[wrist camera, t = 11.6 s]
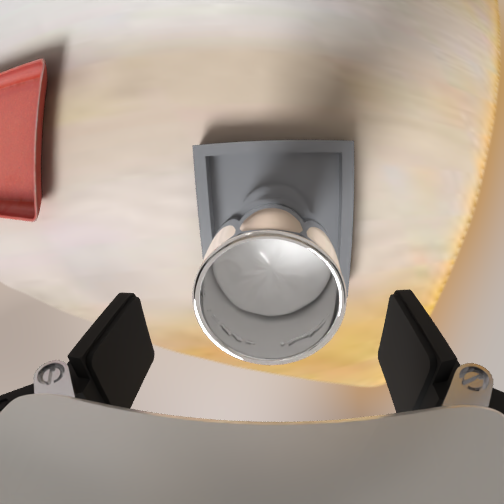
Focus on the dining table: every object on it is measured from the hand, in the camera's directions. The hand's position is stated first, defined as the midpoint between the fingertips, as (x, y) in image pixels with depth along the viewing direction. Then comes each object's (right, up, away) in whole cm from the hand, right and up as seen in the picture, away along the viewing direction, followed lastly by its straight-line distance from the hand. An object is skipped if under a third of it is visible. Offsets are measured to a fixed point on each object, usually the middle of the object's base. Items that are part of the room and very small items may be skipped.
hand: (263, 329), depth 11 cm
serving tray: (+2, +6, +17) cm, 18 cm away
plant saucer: (-31, +17, +16) cm, 39 cm away
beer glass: (+2, +6, +16) cm, 17 cm away
